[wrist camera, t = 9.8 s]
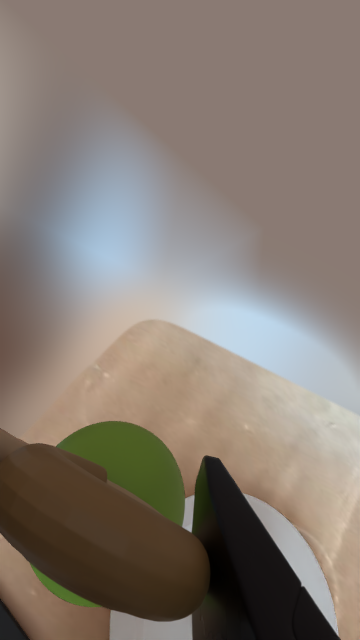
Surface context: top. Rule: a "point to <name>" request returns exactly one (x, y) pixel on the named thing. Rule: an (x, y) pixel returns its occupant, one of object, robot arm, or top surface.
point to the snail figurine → (104, 521)
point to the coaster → (10, 626)
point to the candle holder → (176, 636)
